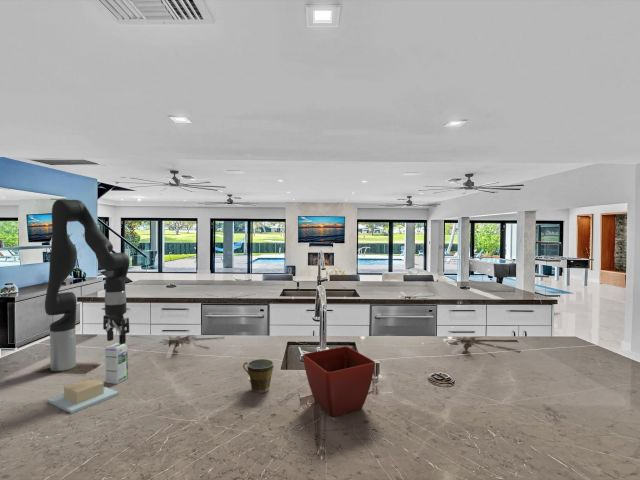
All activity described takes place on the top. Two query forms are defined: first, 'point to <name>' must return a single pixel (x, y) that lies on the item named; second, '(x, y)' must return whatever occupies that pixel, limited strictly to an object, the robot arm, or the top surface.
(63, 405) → the build base
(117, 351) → the syrup box
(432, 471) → the top surface
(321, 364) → the plant pot
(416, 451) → the top surface
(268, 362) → the ceramic cup
